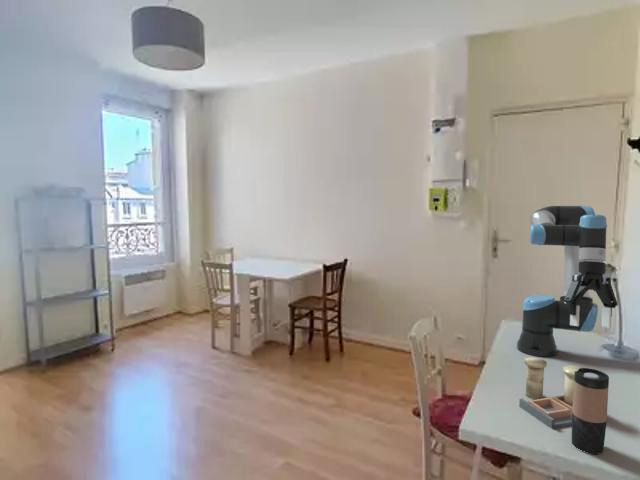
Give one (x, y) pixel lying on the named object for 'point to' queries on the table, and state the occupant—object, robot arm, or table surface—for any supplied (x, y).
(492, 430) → the table surface
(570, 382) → the housing
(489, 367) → the table surface
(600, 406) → the travel mug
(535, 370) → the cream pawn-shaped knob
